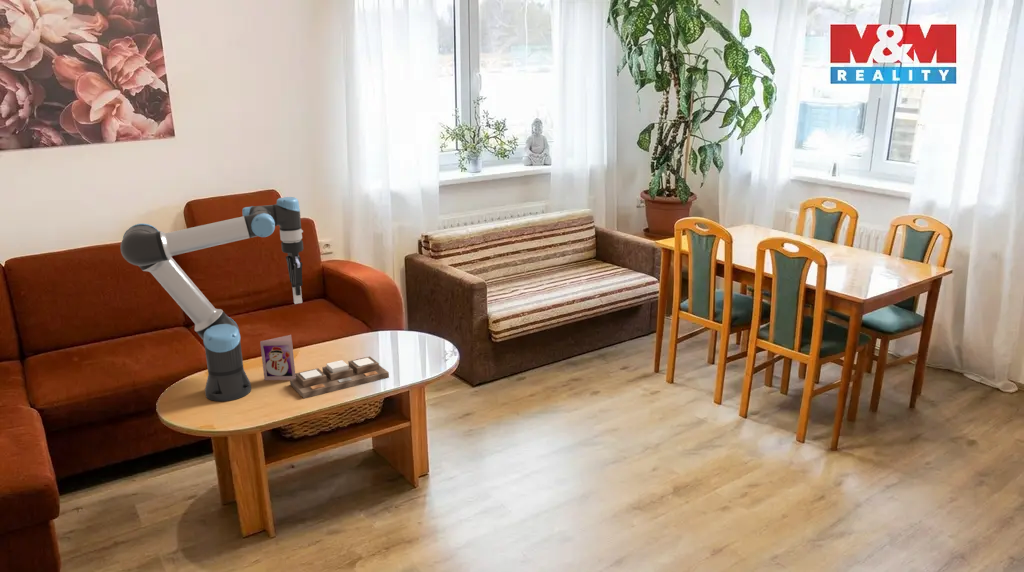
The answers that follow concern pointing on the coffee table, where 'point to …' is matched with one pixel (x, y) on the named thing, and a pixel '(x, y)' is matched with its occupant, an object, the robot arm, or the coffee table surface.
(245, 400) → the coffee table surface
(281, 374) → the greeting card
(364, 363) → the button right
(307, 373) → the button left
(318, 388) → the button board
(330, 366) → the button middle
